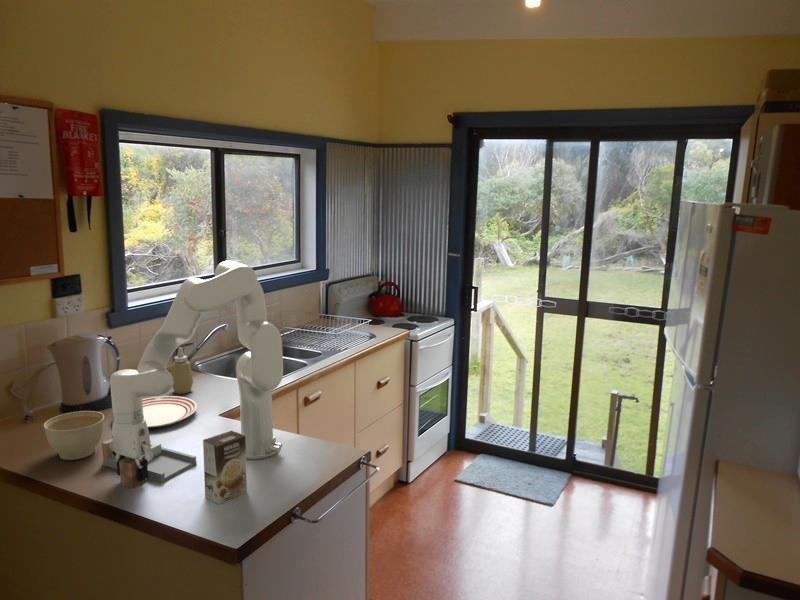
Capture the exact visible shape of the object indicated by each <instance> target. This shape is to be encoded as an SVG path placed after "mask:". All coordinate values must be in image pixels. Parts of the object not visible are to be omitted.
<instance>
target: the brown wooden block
mask: <svg viewBox="0 0 800 600" xmlns="http://www.w3.org/2000/svg"><path fill="white" fill-rule="evenodd" d="M139 459H140V461H141V462H142V461H143V459H142V457H141V458H139ZM119 467H120V476H119V477H120V478H119V479H120V485H121V486H123V487H126V488H131V489H134V488H135V487H138V486H140V485H142V484H143V483H146V482H147V478H146V479H144V480H142V481H141V482H138V481H137V472H136V468H138V466H137V463H136V461H135V459H134V458H130V457H126V458H124V459H122V460H120V461H119Z"/></svg>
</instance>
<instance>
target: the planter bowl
mask: <svg viewBox="0 0 800 600" xmlns="http://www.w3.org/2000/svg"><path fill="white" fill-rule="evenodd" d="M104 421H105V414H103V413H102V412H99V411H95V410H93V411H92V410H79V411H73V412H72V411H71V412H67V413H63V414H59V415H57V416H54V417H51V418H50V419H47V420H46V421H45V422H44V423H43V429H44V432H45V437H46V439H47V442H48V443H49V445H50V447H51V448H52V449H53V450H54V451H55V452H56V453H57V454H58V455H59V458H60V459H61V460H62V459H63V460H67V461H74V460H79V459H83V458H86V457H89V456H91V455H93V453H95V451H96V447H97V445H98V444H99V442H100V441H101V438H102V437H103V433H104V427H105V424H104Z"/></svg>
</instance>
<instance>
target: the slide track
mask: <svg viewBox="0 0 800 600" xmlns="http://www.w3.org/2000/svg"><path fill="white" fill-rule="evenodd" d="M111 442H112V438H109V439H108V440H104V441H102V442H101V449H102V461H101V462H102V466H105V467H108V466H109V467H108V468H112V469H114V470H117V462H116V461H115V458H113V457H112V450H111V448H110V447H109V444H110V443H111ZM161 452H162V454H160V455H158V456H156V457H154V458H152V459H151V461H150V462H149V464H148V465H147V467H148V478H146V480H147V479H148V480H151V481H155V482H158V483H161V484H163V483H164V482H167V481H169V480H170V479H172V478H174V477H175V476H178V475H180V474H181V473H183V472H184V471H187V470H188V469H190V468H192V467H194V466H197V456H196V455H191V454H188V453H185V452H181V451H177V450H173V449H171V448H168V447H163V446H161Z"/></svg>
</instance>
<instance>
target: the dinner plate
mask: <svg viewBox="0 0 800 600" xmlns="http://www.w3.org/2000/svg"><path fill="white" fill-rule="evenodd" d="M142 401H143V415H144V420H146V423H147V427H148V429H152V428H160V427H161V428H162V427H165V426H169V425H172V424H176V423H178V422H181V421H183V420H185V419H187V418H189V417H190V416H191V415H193V414H194V413H195V412H196V411H197V409H198V405H197V403H196V402H195V401H194V400H193V399H190V398H189V397H188V398H187V397H185V396H184V397H183V396H177V395H176V396H175V395H171V396H170V395H160V396H151V397H147V398H142Z"/></svg>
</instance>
